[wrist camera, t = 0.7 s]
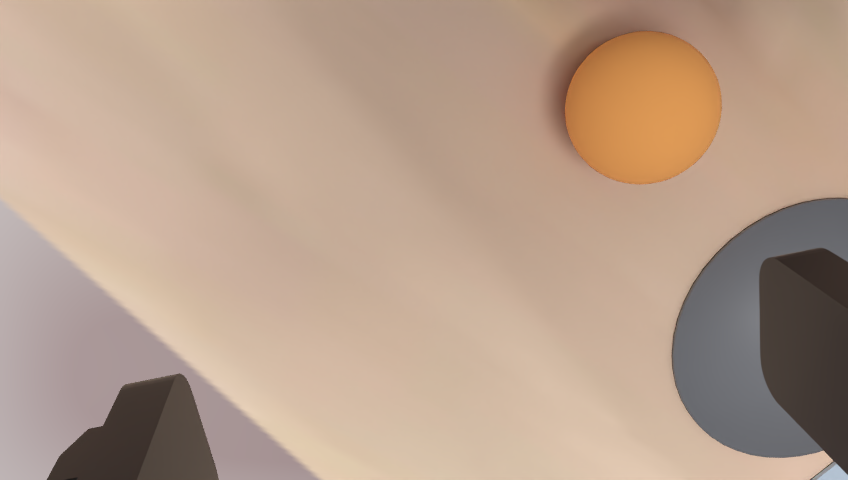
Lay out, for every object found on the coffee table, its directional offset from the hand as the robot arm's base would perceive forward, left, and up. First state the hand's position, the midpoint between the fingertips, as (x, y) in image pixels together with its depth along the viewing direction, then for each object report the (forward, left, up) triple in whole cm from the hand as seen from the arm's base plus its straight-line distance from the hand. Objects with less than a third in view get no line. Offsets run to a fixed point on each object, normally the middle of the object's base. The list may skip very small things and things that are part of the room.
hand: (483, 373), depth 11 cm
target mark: (-7, +21, -21) cm, 31 cm away
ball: (-7, +6, -18) cm, 20 cm away
